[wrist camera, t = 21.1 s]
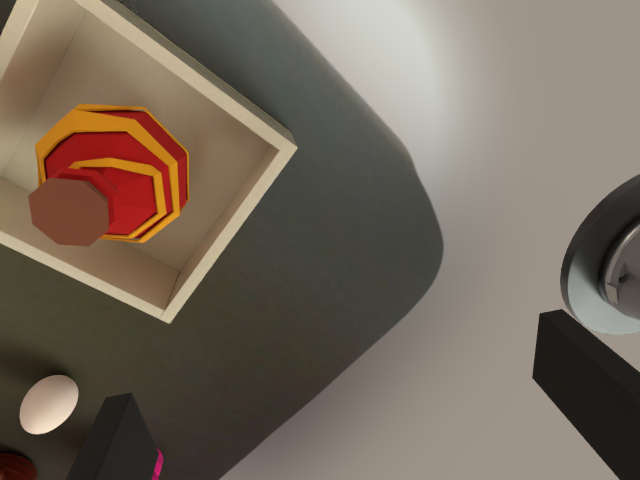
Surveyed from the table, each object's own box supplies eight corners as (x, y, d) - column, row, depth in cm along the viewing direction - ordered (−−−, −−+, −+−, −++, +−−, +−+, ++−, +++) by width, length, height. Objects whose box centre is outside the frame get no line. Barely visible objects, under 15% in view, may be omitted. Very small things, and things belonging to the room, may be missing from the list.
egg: (81, 361, 44) (52, 409, 38) (91, 394, 46) (65, 444, 40) (34, 366, 43) (-3, 415, 37) (46, 398, 45) (13, 450, 39)
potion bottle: (176, 79, 33) (116, 89, 19) (219, 192, 37) (196, 266, 24) (54, 112, 32) (-94, 147, 19) (112, 223, 37) (26, 315, 23)
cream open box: (290, 131, 37) (298, 147, 29) (185, 278, 41) (169, 324, 34) (90, -20, 30) (37, -47, 23) (-8, 176, 35) (-79, 206, 27)
